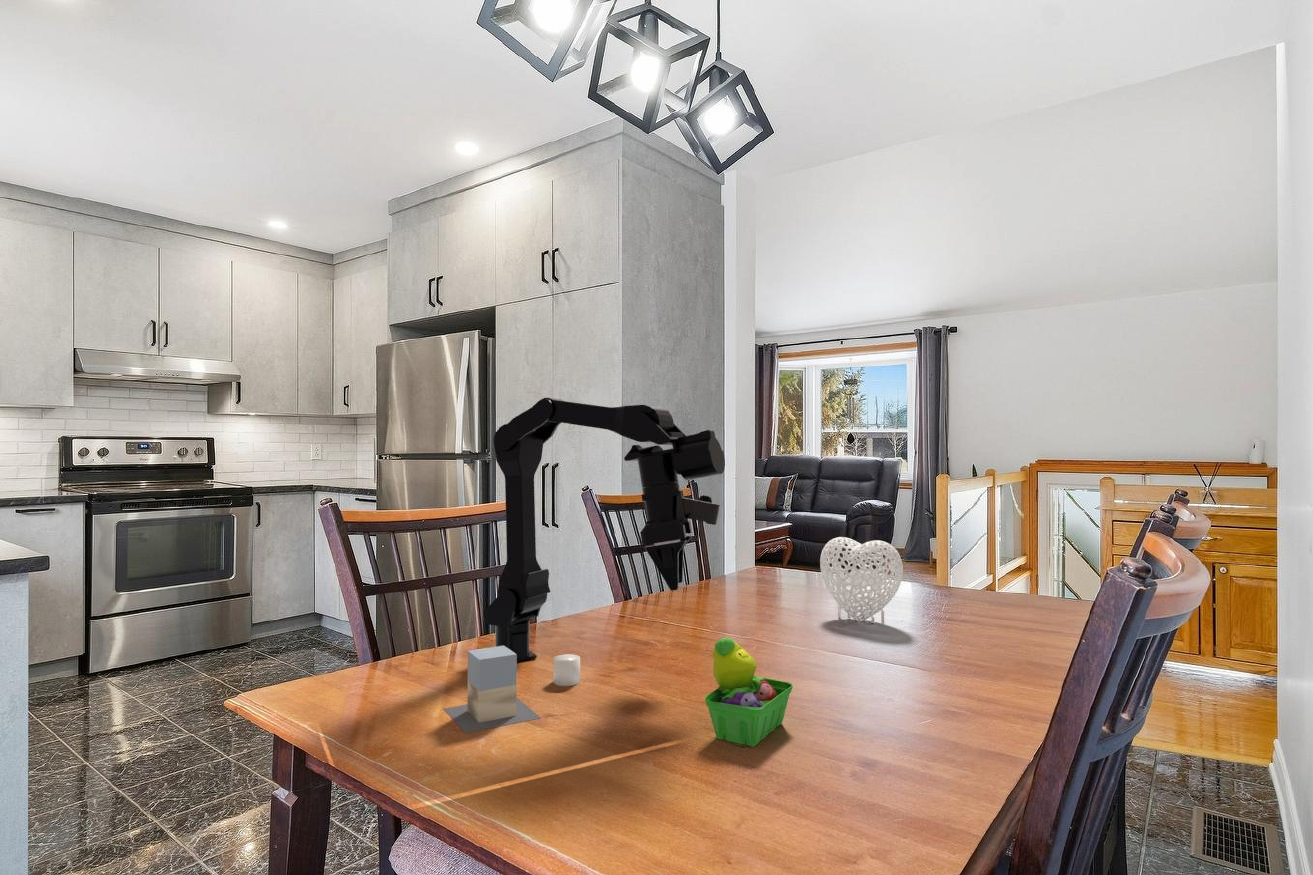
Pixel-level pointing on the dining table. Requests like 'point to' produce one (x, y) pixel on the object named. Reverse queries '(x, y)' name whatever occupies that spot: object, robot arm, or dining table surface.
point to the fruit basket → (744, 697)
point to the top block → (492, 668)
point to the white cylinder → (566, 670)
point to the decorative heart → (861, 576)
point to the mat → (473, 725)
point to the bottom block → (491, 703)
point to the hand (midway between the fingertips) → (676, 586)
